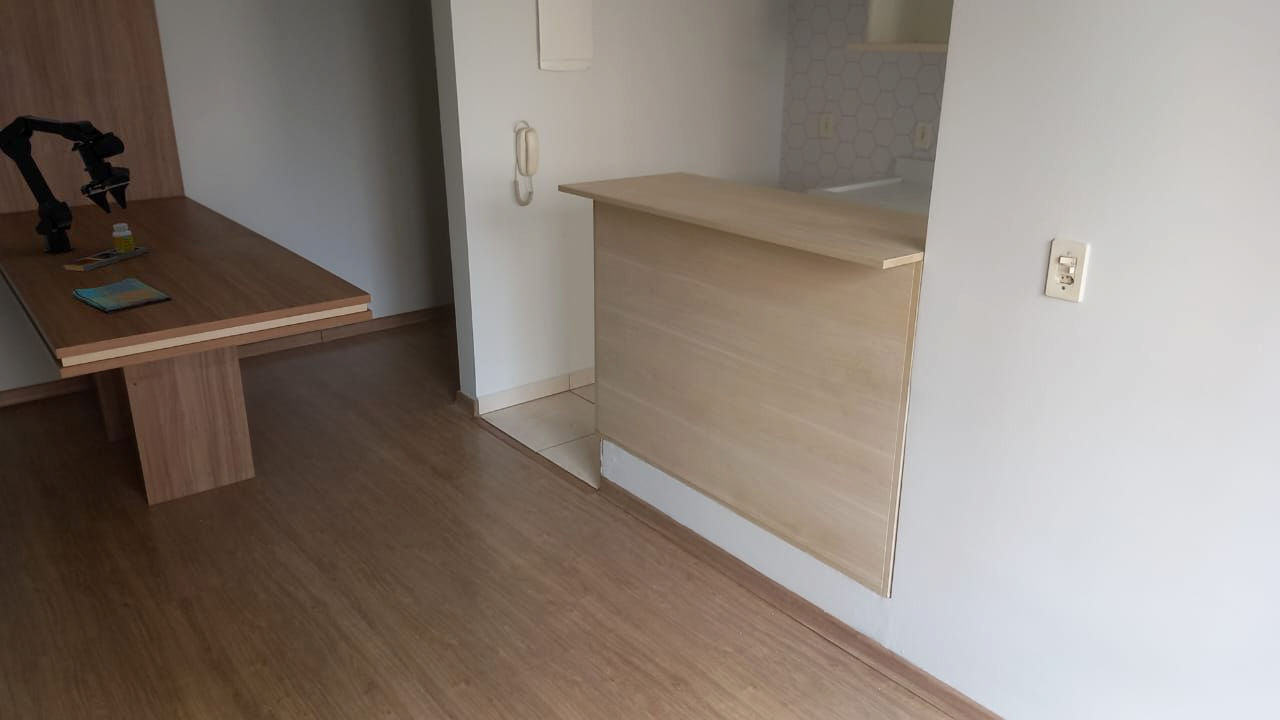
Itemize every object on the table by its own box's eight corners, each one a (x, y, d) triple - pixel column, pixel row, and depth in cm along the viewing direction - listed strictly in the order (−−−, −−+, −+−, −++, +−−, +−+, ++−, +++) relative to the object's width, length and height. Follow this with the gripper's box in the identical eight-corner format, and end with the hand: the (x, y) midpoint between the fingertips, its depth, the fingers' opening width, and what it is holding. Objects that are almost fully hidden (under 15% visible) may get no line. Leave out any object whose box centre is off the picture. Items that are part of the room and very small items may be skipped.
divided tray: (63, 269, 271) (62, 264, 271) (125, 250, 293) (124, 245, 292) (86, 271, 269) (85, 266, 269) (147, 252, 291) (146, 247, 290)
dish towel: (137, 285, 259) (136, 276, 258) (174, 301, 245) (172, 292, 244) (72, 298, 247) (70, 289, 246) (106, 317, 232) (104, 307, 232)
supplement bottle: (127, 257, 285) (121, 226, 282) (112, 256, 286) (106, 226, 283) (139, 252, 290) (133, 223, 286) (125, 252, 291) (118, 222, 287)
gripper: (134, 150, 279) (156, 199, 284) (103, 161, 289) (125, 208, 294) (100, 158, 270) (123, 209, 275) (69, 169, 280) (92, 218, 285)
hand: (117, 211), depth 282 cm, fingers open, 9 cm apart
